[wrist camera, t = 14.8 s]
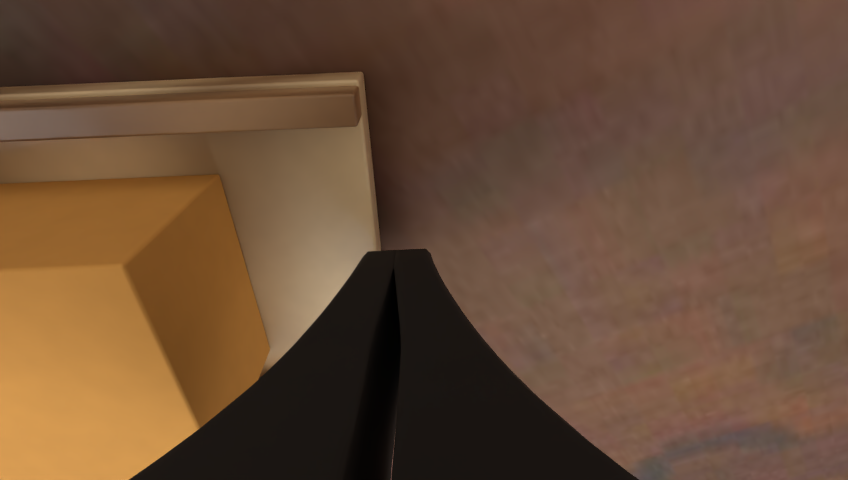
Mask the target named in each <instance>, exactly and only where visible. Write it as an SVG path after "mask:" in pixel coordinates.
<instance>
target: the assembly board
mask: <svg viewBox="0 0 848 480" xmlns="http://www.w3.org/2000/svg"><path fill="white" fill-rule="evenodd" d="M214 174H217V175H219V176H220V179H221V182H222V186H223V189H224V192H225V196H226V199H227V203H228V206H229V210H230V213H231V216H232V220H233V223H234V227H235V230H236V234H237V237H238V240H239V244H240V247H241V251H242V254H243V258H244V261H245V264H246V268H247V271H248V275H249V278H250V282H251V285H252V288H253V292H254V295H255V299H256V302H257V306H258V309H259V312H260V316H261V319H262V323H263V326H264V330H265V333H266V336H267V340H268V343H269V347H270V351H269V354H268V356H267V359H266V361H265V364H264V366H263V369H262V371H261V374H260V376H259V378H260V377H262V376H263V375H264V374H265V373H266V372H267V371H268V370H269V369H270V368H271V367H272V366H273V365H274V364H275V363H276V362H277V361H278V360H279V359H280V358H281V357H282V356H283V355H284V354H285V353H286V352H287V351H288V350H289V349H290V348H291V347H292V346H293V345H294V344H295V343H296V342H297V341H298V339H299V338H300V337H301V336H302V335H303V334H304V333H305V332H306V330H307V329H308V328H309V327H310V326H311V325H312V324H313V322H314V321H315V320H316V319H317V318H318V317H319V316H320V314H321V313H322V312H323V311H324V310H325V308H326V307H327V306H328V304H329V303H330V302H331V301H332V299H333V298H334V297H335V295H336V294H337V293H338V292H339V290H340V289H341V288H342V286H343V285H344V284H345V282H346V281H347V279H348V278H349V277H350V275H351V274H352V272H353V271H354V269H355V268H356V266H357V265H358V263H359V262H360V260H361V259H362V257H363V256H364V255H365V254H366V253H367V252H368V251H381V243H380V233H379V223H378V213H377V203H376V193H375V183H374V173H373V163H372V153H371V143H370V133H369V123H368V114H367V104H366V94H365V84H364V75H363V73H362V72H342V73H318V74H295V75H271V76H248V77H225V78H201V79H178V80H154V81H131V82H108V83H84V84H61V85H37V86H14V87H0V184H8V183H30V182H53V181H76V180H99V179H122V178H145V177H168V176H191V175H214Z"/></svg>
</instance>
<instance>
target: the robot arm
mask: <svg viewBox="0 0 848 480" xmlns="http://www.w3.org/2000/svg"><path fill="white" fill-rule="evenodd" d="M395 430H396V433H395ZM394 439H395V445H394ZM393 448H394V456H393ZM392 457H393V468H392V480H639V479H637V478H636V477H634V476H633V475H631V474H630V473H629V472H627V471H626V470H625V469H624V468H622V467H621V466H620V465H618V464H617V463H616V462H615V461H613V460H612V459H611V458H609V457H608V456H607V455H606V454H604V453H603V452H602V451H601V450H599V449H598V448H597V447H595V446H594V445H593V444H592V443H590V442H589V441H588V440H587V439H585V438H584V437H583V436H582V435H581V434H580V433H579V432H577V431H576V430H575V429H574V428H573V427H572V426H571V425H569V424H568V423H567V422H566V421H565V420H564V419H563V418H561V417H560V416H559V415H558V414H557V413H556V412H554V411H553V410H552V409H551V408H550V407H549V406H548V405H546V404H545V403H544V402H543V401H542V400H541V399H540V398H538V397H537V396H536V395H535V394H534V393H533V392H532V391H531V390H530V389H529V388H528V387H527V386H526V385H525V384H524V383H523V382H522V381H521V380H520V379H519V378H518V377H517V376H516V375H515V374H514V373H513V372H512V371H511V370H510V369H509V368H508V366H507V365H506V364H505V363H504V362H503V361H502V360H501V359H500V358H499V357H498V356H497V355H496V353H495V352H494V351H493V350H492V349H491V348H490V347H489V345H488V344H487V343H486V342H485V341H484V339H483V338H482V337H481V336H480V334H479V333H478V332H477V331H476V329H475V328H474V327H473V325H472V324H471V323H470V322H469V320H468V319H467V317H466V316H465V315H464V313H463V312H462V310H461V309H460V308H459V306H458V304H457V303H456V301H455V300H454V298H453V297H452V295H451V294H450V292H449V291H448V289H447V287H446V286H445V284H444V282H443V281H442V279H441V277H440V275H439V273H438V271H437V269H436V267H435V265H434V263H433V260H432V257H431V253H429V252H428V251H427V250H426V249H410V250H388V251H368V252H367V253H366V254H365V255H364V256H363V257H362V259H361V260H360V262H359V263H358V265H357V266H356V268H355V269H354V271H353V272H352V274H351V275H350V277H349V278H348V279H347V281H346V282H345V284H344V285H343V286H342V288H341V289H340V290H339V292H338V293H337V294H336V295H335V297H334V298H333V299H332V301H331V302H330V303H329V304H328V306H327V307H326V308H325V310H324V311H323V312H322V313H321V314H320V316H319V317H318V318H317V319H316V320H315V321H314V322H313V324H312V325H311V326H310V327H309V328H308V329H307V330H306V332H305V333H304V334H303V335H302V336H301V337H300V338H299V339H298V341H297V342H296V343H295V344H294V345H293V346H292V347H291V348H290V349H289V350H288V351H287V352H286V353H285V354H284V355H283V356H282V357H281V358H280V359H279V360H278V361H277V362H276V363H275V364H274V365H273V366H272V367H271V368H270V369H269V370H268V371H267V372H266V373H265V374H264V375H263V376H262V377H260V378H259V379H258V380H257V381H256V382H255V383H254V384H253V385H252V386H251V387H249V388H248V389H247V390H246V391H245V392H244V393H242V394H241V395H240V396H239V397H238V398H236V399H235V400H234V401H233V402H231V403H230V404H229V405H228V406H227V407H225V408H224V409H223V410H222V411H220V412H219V413H218V414H217V415H216V416H214V417H213V418H212V419H211V420H209V421H208V422H207V423H206V424H205V425H203V426H202V427H201V428H200V429H198V430H197V431H196V432H194V433H193V434H192V435H190V436H189V437H188V438H186V439H185V440H184V441H182V442H181V443H180V444H178V445H177V446H175V447H174V448H173V449H171V450H170V451H169V452H167V453H166V454H165V455H163V456H162V457H160V458H159V459H158V460H156V461H155V462H153V463H152V464H150V465H149V466H148V467H146V468H145V469H143V470H142V471H140V472H139V473H138V474H136V475H135V476H133V477H132V478H130V479H129V480H391V466H392Z"/></svg>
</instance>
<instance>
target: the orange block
mask: <svg viewBox="0 0 848 480" xmlns="http://www.w3.org/2000/svg"><path fill="white" fill-rule="evenodd" d="M269 351H270V347H269V343H268V340H267V336H266V333H265V330H264V326H263V323H262V319H261V316H260V312H259V309H258V306H257V302H256V299H255V295H254V292H253V288H252V285H251V282H250V278H249V275H248V271H247V268H246V264H245V261H244V258H243V254H242V251H241V247H240V244H239V240H238V237H237V234H236V230H235V227H234V223H233V220H232V216H231V213H230V210H229V206H228V203H227V199H226V196H225V192H224V189H223V186H222V182H221V179H220V176H219V175H217V174H214V175H191V176H168V177H145V178H122V179H99V180H76V181H53V182H30V183H8V184H0V480H129V479H130V478H132V477H133V476H135V475H136V474H138V473H139V472H140V471H142V470H143V469H145V468H146V467H148V466H149V465H150V464H152V463H153V462H155V461H156V460H158V459H159V458H160V457H162V456H163V455H165V454H166V453H167V452H169V451H170V450H171V449H173V448H174V447H175V446H177V445H178V444H180V443H181V442H182V441H184V440H185V439H186V438H188V437H189V436H190V435H192V434H193V433H194V432H196V431H197V430H198V429H200V428H201V427H202V426H203V425H205V424H206V423H207V422H208V421H209V420H211V419H212V418H213V417H214V416H216V415H217V414H218V413H219V412H220V411H222V410H223V409H224V408H225V407H227V406H228V405H229V404H230V403H231V402H233V401H234V400H235V399H236V398H238V397H239V396H240V395H241V394H242V393H244V392H245V391H246V390H247V389H248V388H249V387H251V386H252V385H253V384H254V383H255V382H256V381H257V380H258V379H259V376H260V374H261V371H262V369H263V366H264V364H265V361H266V359H267V356H268V354H269Z"/></svg>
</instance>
